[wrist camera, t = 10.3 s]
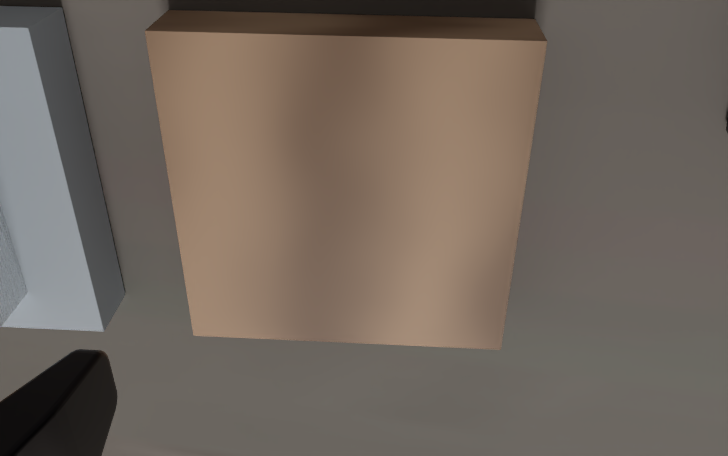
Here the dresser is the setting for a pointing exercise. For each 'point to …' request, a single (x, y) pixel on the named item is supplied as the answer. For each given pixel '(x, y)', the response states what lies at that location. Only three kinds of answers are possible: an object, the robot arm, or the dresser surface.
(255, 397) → the dresser surface
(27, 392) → the robot arm
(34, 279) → the slate stand
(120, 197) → the dresser surface
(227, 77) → the walnut stand
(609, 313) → the dresser surface
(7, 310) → the housing base
